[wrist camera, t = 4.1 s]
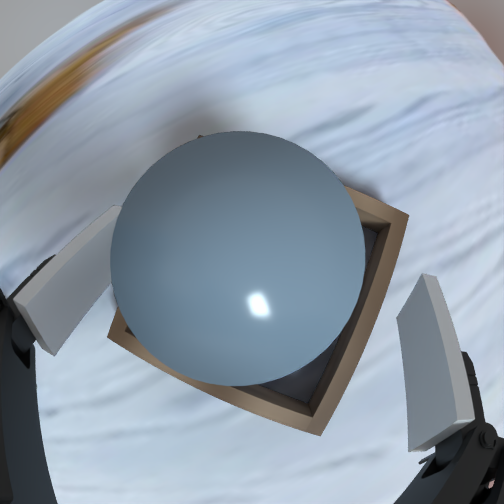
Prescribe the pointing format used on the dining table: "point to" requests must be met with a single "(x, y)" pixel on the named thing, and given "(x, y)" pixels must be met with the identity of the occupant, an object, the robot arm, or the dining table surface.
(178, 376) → the wooden square frame
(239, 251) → the slate jar
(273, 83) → the dining table surface
